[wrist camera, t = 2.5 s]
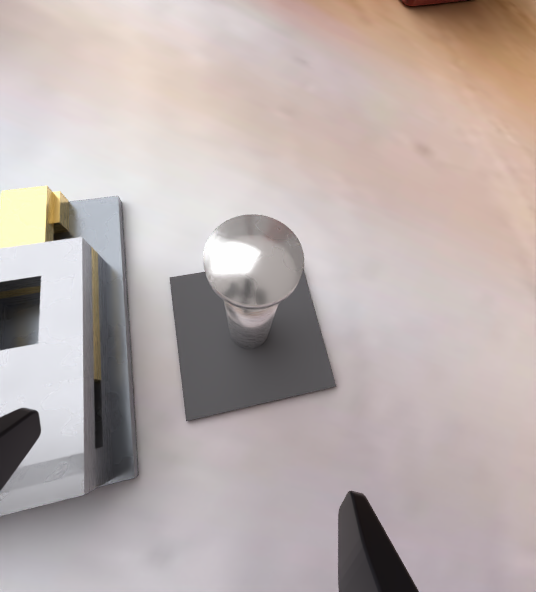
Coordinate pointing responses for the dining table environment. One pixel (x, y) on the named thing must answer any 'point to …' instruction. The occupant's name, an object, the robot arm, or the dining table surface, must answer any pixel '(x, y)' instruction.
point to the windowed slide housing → (65, 344)
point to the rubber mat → (245, 351)
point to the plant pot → (426, 2)
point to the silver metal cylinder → (252, 273)
